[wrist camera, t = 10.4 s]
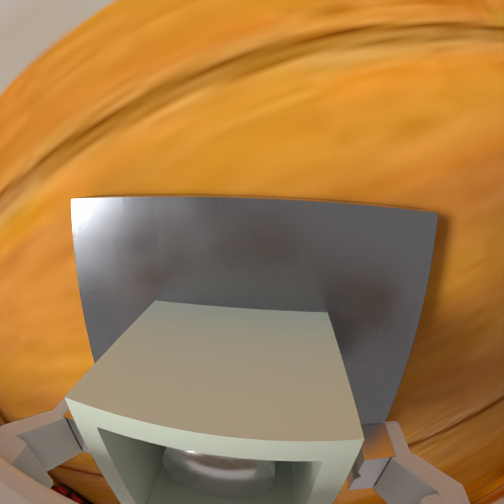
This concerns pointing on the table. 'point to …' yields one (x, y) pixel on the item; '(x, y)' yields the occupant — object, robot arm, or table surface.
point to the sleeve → (220, 402)
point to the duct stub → (260, 286)
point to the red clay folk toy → (68, 493)
